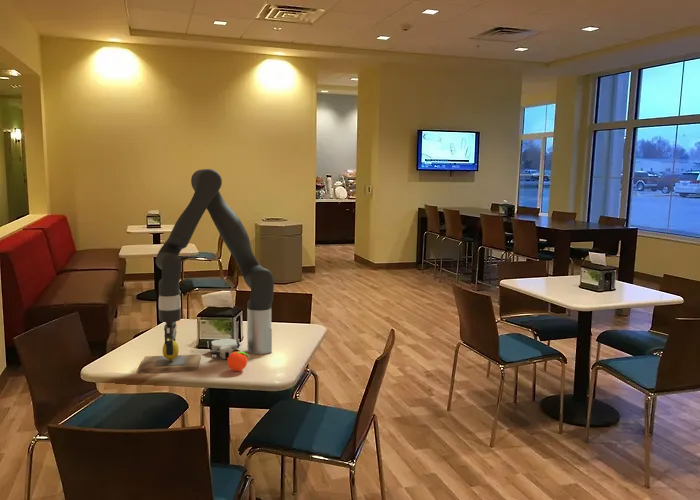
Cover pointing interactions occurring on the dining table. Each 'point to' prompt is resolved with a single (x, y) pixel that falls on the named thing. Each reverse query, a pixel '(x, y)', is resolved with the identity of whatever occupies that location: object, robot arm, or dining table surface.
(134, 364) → the dining table surface
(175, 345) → the lemon
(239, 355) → the clementine
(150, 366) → the serving board
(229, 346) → the robot toy
